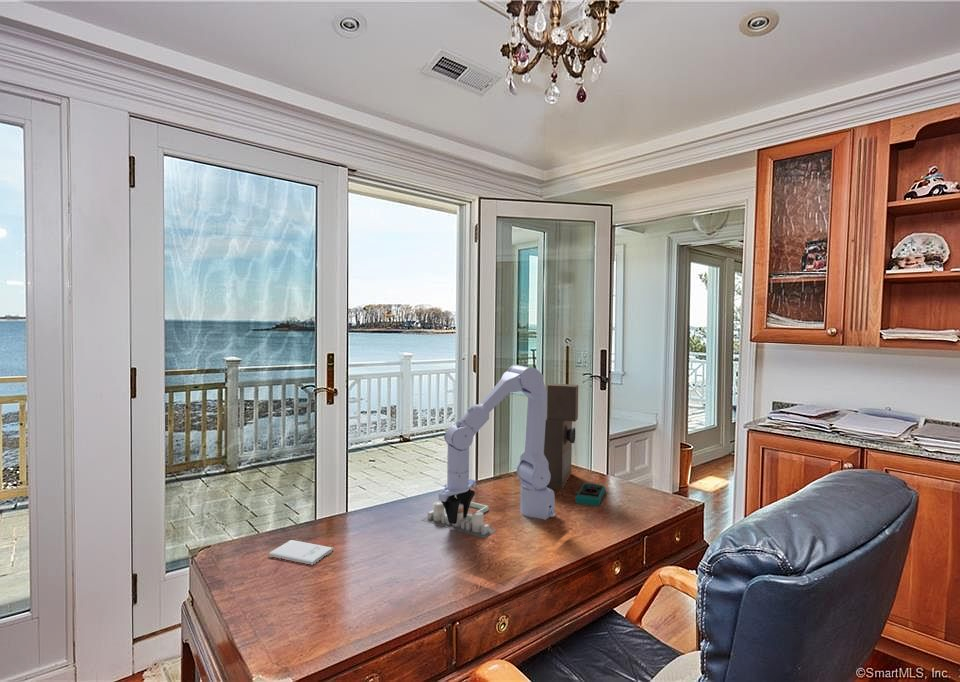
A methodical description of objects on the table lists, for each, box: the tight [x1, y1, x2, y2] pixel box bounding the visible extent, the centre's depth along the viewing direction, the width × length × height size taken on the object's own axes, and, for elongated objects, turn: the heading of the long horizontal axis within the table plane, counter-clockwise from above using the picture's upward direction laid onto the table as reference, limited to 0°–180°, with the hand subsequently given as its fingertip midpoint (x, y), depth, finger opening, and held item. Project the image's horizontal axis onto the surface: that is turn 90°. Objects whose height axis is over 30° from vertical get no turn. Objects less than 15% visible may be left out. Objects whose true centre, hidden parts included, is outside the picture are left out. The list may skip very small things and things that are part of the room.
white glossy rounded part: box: [432, 501, 445, 522], centre depth 142 cm, size 3×3×4 cm
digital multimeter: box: [575, 482, 606, 507], centre depth 164 cm, size 7×15×3 cm, turn 159°
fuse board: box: [421, 509, 497, 539], centre depth 138 cm, size 21×6×3 cm, turn 57°
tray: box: [444, 501, 489, 521], centre depth 148 cm, size 9×9×2 cm
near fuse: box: [471, 511, 484, 533], centre depth 134 cm, size 3×3×4 cm
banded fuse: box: [452, 503, 464, 527], centre depth 138 cm, size 3×3×6 cm
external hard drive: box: [268, 539, 334, 566], centre depth 123 cm, size 2×8×12 cm
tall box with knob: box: [544, 383, 579, 490], centre depth 181 cm, size 19×14×35 cm
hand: (457, 519), depth 138 cm, fingers open, 4 cm apart
